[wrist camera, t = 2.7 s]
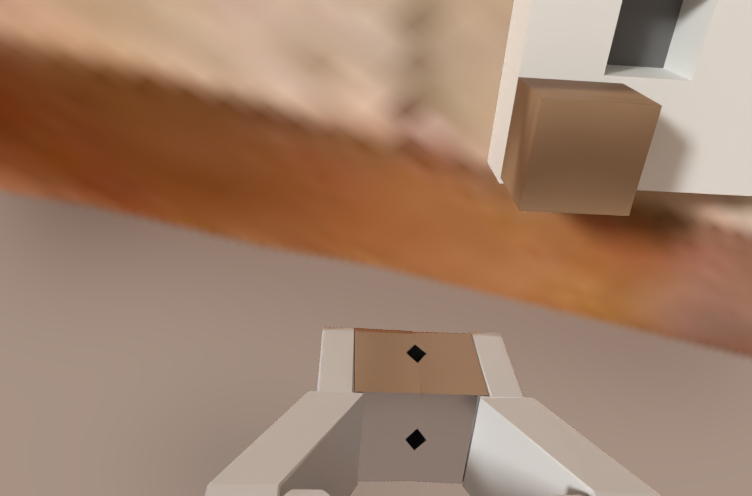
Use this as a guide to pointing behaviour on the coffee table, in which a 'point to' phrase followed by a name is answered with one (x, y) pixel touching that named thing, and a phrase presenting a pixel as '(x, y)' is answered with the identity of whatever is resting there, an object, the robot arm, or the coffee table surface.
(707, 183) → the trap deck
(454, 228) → the coffee table surface
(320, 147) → the coffee table surface
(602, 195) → the block
